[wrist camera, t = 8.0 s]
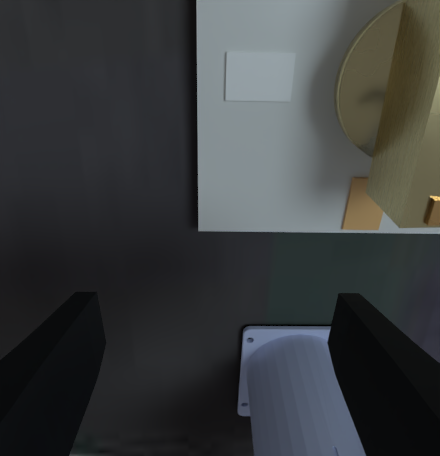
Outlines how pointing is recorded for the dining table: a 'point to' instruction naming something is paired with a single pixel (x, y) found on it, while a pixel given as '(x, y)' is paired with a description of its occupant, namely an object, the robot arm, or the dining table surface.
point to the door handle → (396, 109)
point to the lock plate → (280, 119)
